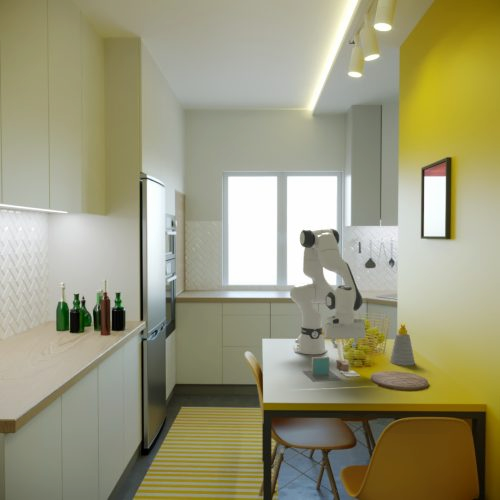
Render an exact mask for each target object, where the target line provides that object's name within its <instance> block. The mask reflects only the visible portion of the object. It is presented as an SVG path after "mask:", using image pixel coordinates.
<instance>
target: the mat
mask: <svg viewBox="0 0 500 500" xmlns="http://www.w3.org/2000/svg"><path fill="white" fill-rule="evenodd" d="M301 372H302V373H303V374H304V375H305V376H306V377H307V378H308V379H309V380H310V381H312V383H317V382H318V383H319V382H321V383H322V382H339V381H340V382H342V381H344V380H343V379H342V378H340V377H339V376H338V375H337V374H335V373H334V372H332V371H331V370H330V369H329V375H312V370H301Z"/></svg>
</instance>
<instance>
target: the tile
mask: <svg viewBox="0 0 500 500" xmlns="http://www.w3.org/2000/svg"><path fill="white" fill-rule="evenodd" d="M329 370H330V357H329V356H315V357H313V356H312V357H311V371H312V375H329Z"/></svg>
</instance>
